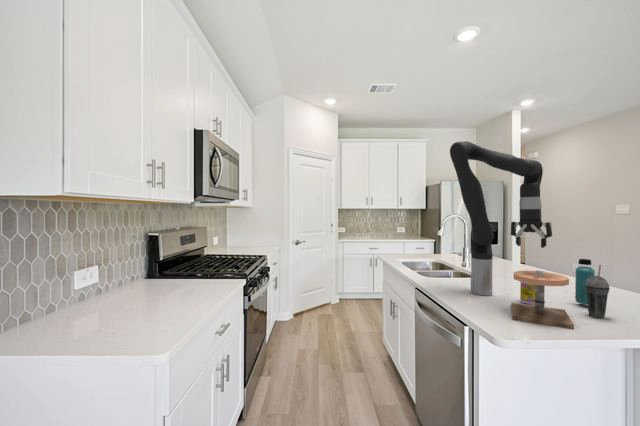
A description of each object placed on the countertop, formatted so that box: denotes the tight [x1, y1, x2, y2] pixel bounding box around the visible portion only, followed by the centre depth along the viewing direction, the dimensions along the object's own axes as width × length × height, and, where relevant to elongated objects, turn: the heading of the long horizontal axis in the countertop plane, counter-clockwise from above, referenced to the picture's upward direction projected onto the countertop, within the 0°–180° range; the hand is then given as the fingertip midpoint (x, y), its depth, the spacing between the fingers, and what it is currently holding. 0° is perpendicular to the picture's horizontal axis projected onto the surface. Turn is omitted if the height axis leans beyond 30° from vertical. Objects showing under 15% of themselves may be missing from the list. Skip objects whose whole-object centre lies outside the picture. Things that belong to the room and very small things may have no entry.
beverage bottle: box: [574, 258, 596, 306], centre depth 131 cm, size 6×7×20 cm
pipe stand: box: [510, 270, 575, 330], centre depth 119 cm, size 18×18×18 cm
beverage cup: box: [585, 264, 610, 320], centre depth 119 cm, size 7×7×20 cm
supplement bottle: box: [519, 282, 535, 305], centre depth 136 cm, size 7×7×13 cm
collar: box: [513, 270, 570, 287], centre depth 119 cm, size 17×17×2 cm
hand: (530, 246), depth 129 cm, fingers open, 8 cm apart
